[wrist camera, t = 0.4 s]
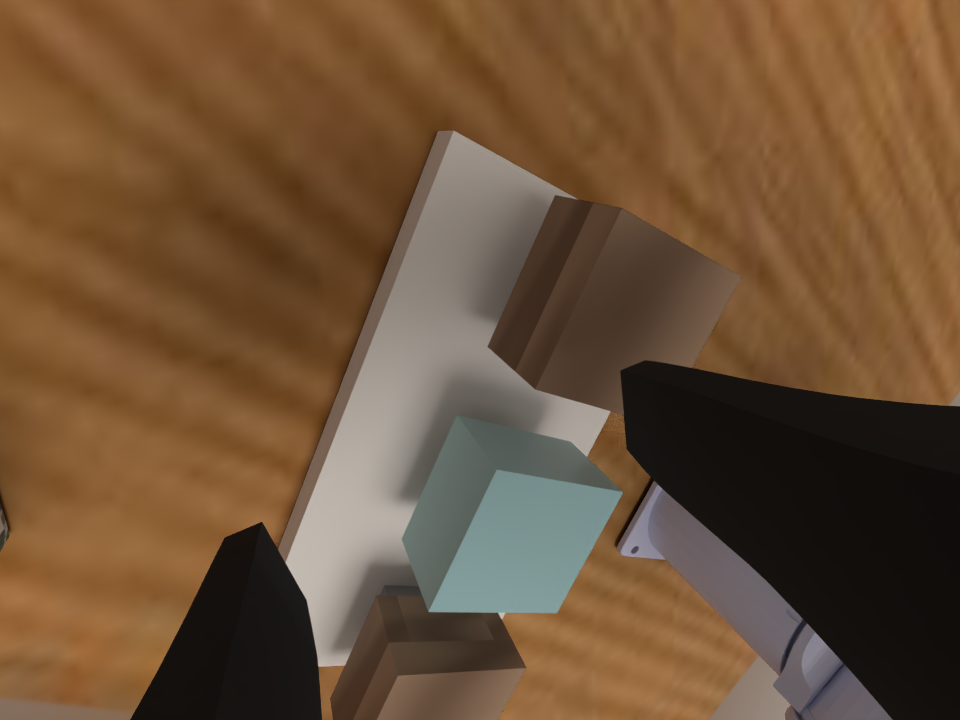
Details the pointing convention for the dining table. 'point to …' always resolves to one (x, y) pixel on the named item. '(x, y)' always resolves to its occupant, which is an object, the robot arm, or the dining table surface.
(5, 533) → the syrup box
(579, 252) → the brown ledged cube
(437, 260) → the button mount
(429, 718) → the far walnut button
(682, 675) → the dining table surface
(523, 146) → the dining table surface
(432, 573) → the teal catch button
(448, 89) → the dining table surface
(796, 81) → the dining table surface
